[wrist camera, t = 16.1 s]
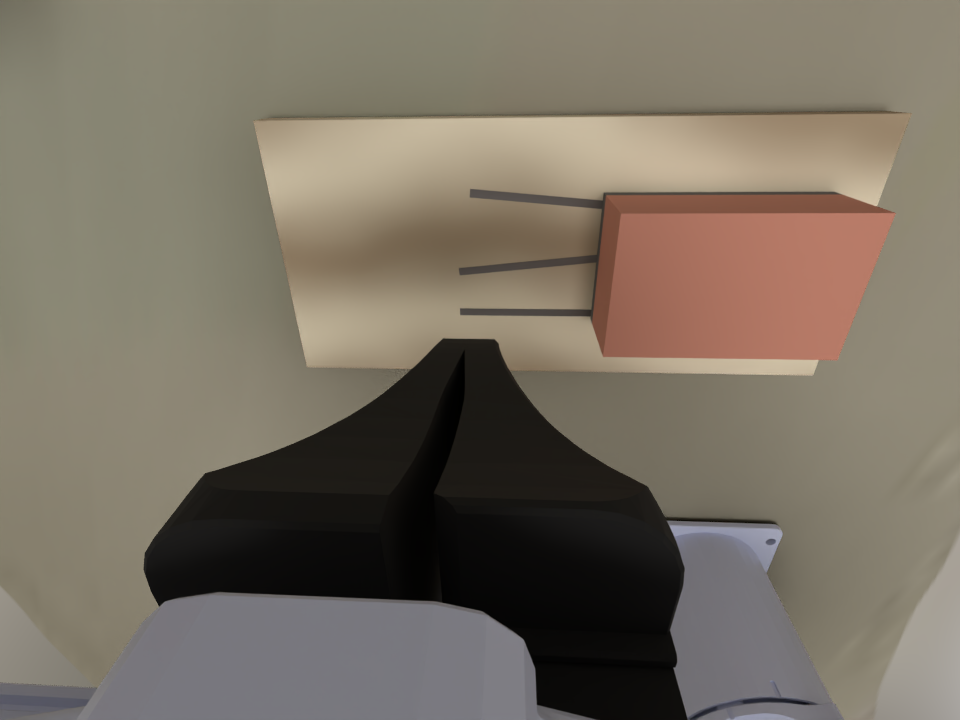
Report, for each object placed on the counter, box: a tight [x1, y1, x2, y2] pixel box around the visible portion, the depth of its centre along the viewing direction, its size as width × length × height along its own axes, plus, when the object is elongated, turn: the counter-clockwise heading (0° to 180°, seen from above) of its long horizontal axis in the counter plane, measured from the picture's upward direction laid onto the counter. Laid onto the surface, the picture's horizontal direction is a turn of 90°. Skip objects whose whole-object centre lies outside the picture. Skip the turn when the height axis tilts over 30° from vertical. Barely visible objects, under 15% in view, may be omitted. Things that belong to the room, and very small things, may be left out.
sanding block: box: [590, 192, 896, 360], centre depth 17 cm, size 5×8×3 cm, turn 91°
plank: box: [254, 111, 912, 375], centre depth 20 cm, size 10×22×1 cm, turn 91°
